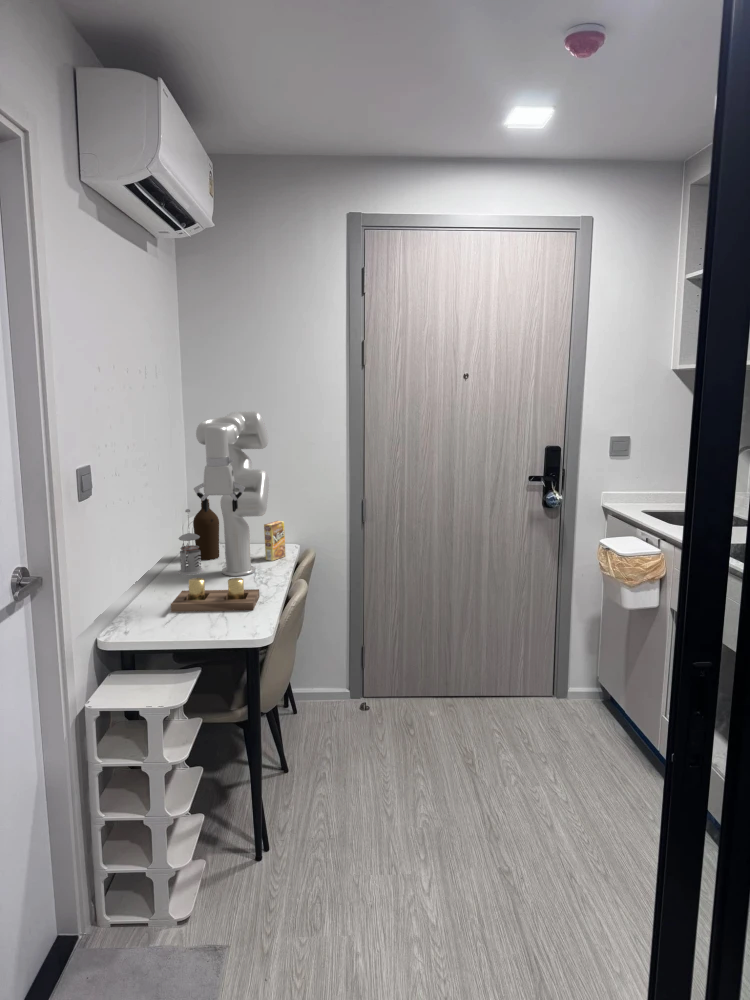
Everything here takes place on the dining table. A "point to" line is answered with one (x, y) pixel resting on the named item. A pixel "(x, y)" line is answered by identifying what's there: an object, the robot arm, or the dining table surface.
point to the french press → (190, 554)
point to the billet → (197, 589)
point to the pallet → (215, 601)
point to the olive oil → (207, 533)
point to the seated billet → (236, 588)
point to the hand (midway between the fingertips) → (220, 511)
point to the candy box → (274, 540)
